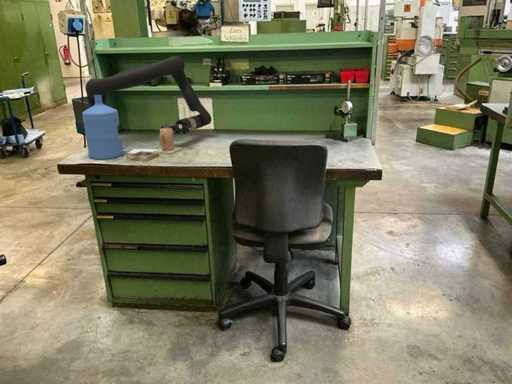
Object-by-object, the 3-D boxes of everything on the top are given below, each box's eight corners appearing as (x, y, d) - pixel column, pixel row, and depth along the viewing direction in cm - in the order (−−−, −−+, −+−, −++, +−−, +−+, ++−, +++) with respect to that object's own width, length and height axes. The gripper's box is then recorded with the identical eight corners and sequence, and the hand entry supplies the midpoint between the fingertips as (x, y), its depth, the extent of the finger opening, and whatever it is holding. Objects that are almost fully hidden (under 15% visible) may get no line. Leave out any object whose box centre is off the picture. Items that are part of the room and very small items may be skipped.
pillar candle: (156, 151, 198) (154, 130, 195) (166, 147, 206) (164, 127, 202) (166, 152, 196) (165, 131, 193) (176, 148, 203) (174, 128, 200)
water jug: (104, 161, 186) (95, 98, 177) (81, 157, 194) (71, 96, 184) (130, 153, 199) (123, 94, 189) (107, 150, 206) (99, 92, 197)
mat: (153, 152, 200) (153, 151, 199) (165, 147, 208) (165, 146, 208) (171, 154, 196) (170, 152, 196) (182, 149, 204) (182, 147, 204)
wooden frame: (127, 159, 189) (126, 156, 188) (141, 153, 198) (141, 150, 197) (145, 161, 185) (145, 158, 185) (159, 155, 194) (159, 152, 193)
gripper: (173, 117, 215) (154, 123, 201) (197, 118, 210) (179, 124, 196) (174, 131, 218) (156, 138, 204) (198, 133, 212) (181, 140, 198)
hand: (167, 131), depth 200 cm, fingers open, 8 cm apart
